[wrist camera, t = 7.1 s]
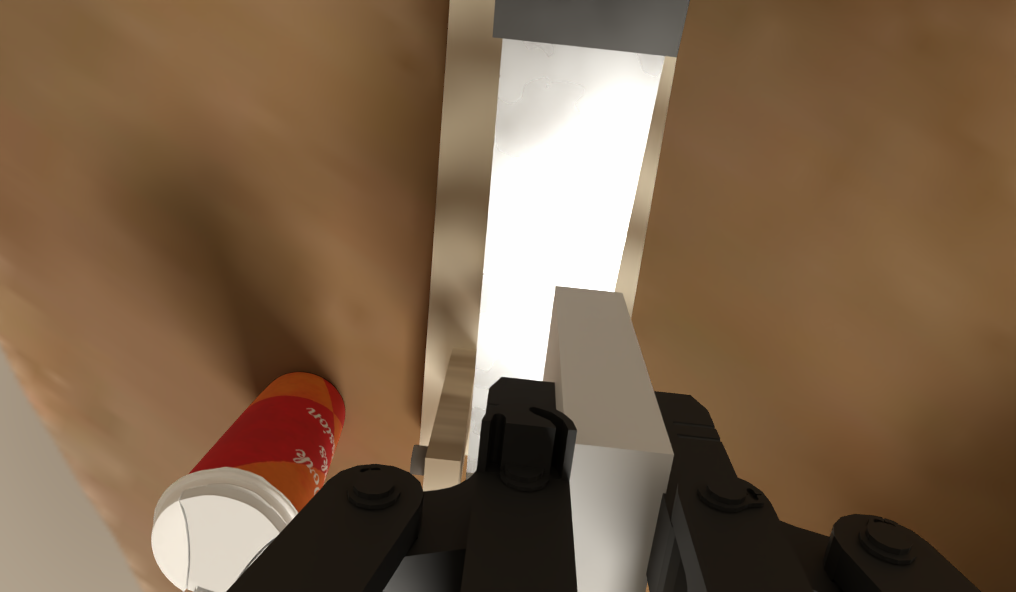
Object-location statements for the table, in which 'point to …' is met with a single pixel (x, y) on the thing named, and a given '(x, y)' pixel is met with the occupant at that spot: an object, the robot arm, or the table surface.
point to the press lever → (562, 166)
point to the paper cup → (248, 484)
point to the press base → (465, 234)
